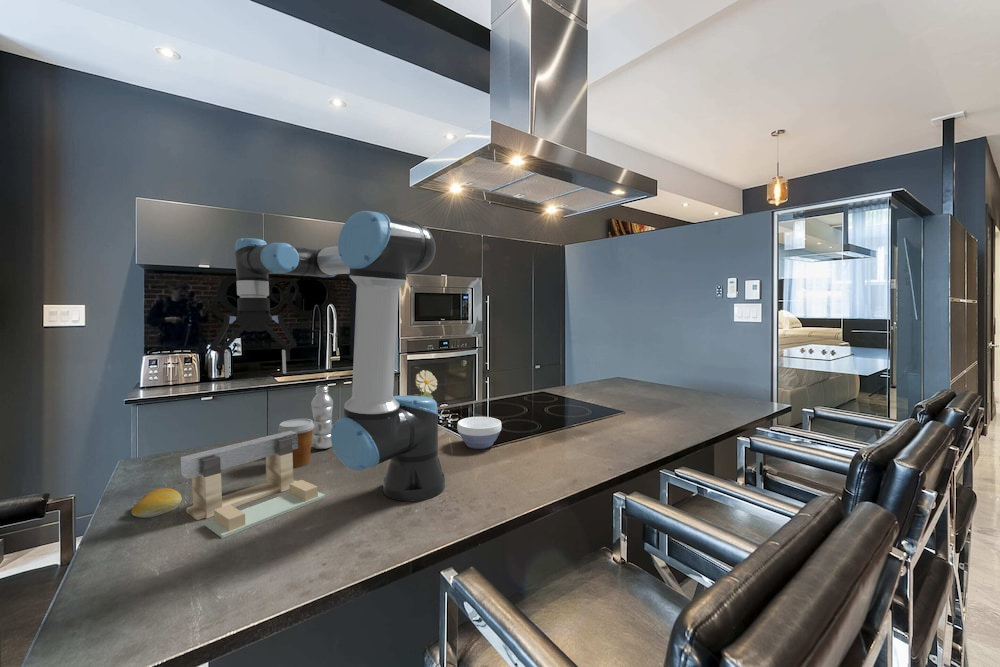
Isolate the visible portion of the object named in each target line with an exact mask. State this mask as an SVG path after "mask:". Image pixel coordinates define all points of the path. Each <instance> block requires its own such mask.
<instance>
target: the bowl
mask: <svg viewBox="0 0 1000 667" xmlns="http://www.w3.org/2000/svg"><path fill="white" fill-rule="evenodd" d="M456 427H457V432H458V434H459V436H460V437H461V440H462V441H463V442H464V443H465V445H466V447H468V448H470V449H475V450H482V449H488V448H490V447H492V446H493V445H494V442H495V441H497V439H498V436H499V435H500V433H501V431H502V421H501V420H500V419H498V418H494V417H491V416H471V417H470V416H469V417H465V418H462V419H460V420H458V421H457V425H456Z"/></svg>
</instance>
